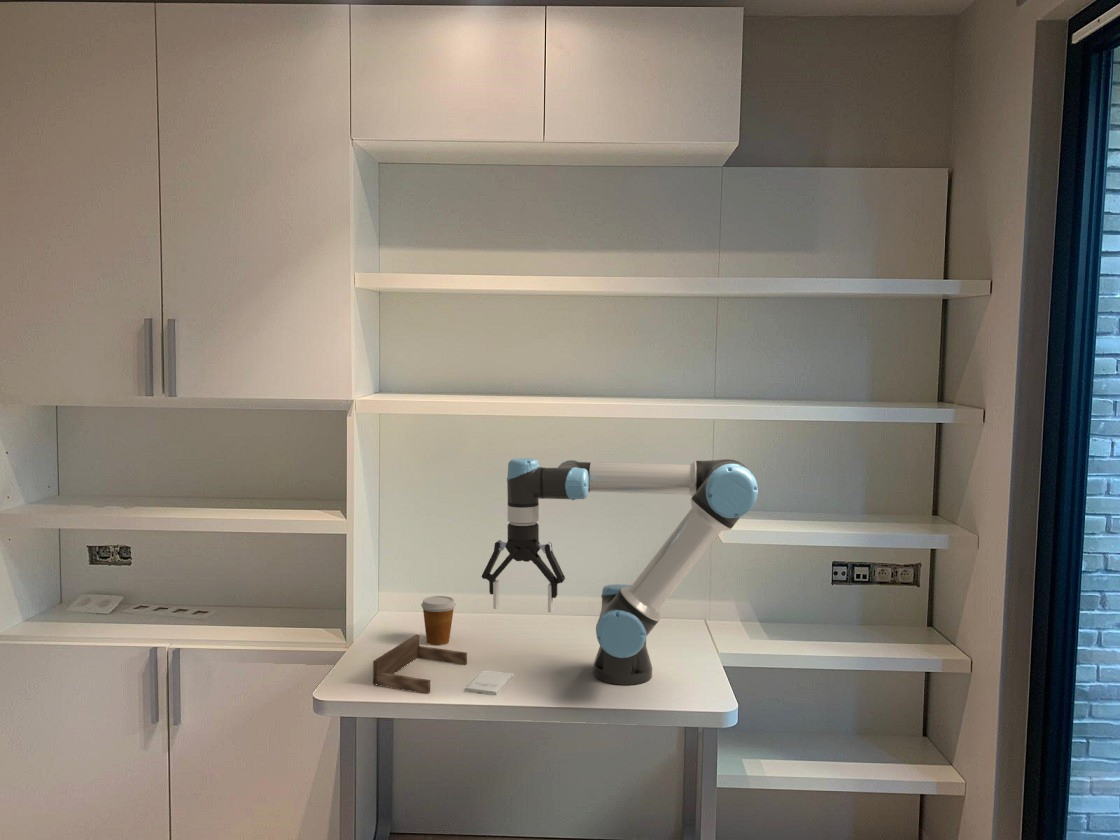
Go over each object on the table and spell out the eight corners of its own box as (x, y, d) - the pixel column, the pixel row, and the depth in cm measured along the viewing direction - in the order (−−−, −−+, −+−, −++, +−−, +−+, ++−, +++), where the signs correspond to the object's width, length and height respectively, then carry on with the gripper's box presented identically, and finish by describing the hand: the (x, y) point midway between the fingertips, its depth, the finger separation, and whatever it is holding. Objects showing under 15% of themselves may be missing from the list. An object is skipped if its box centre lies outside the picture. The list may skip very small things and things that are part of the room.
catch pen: (467, 663, 227) (467, 641, 227) (428, 693, 206) (428, 669, 206) (416, 656, 232) (416, 634, 232) (373, 684, 211) (373, 660, 211)
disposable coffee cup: (422, 648, 238) (423, 605, 238) (419, 637, 248) (419, 596, 247) (457, 646, 241) (457, 603, 240) (452, 635, 250) (452, 594, 249)
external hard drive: (513, 679, 218) (496, 697, 206) (482, 675, 221) (464, 693, 209) (513, 673, 218) (496, 691, 206) (482, 669, 220) (464, 687, 208)
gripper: (576, 521, 210) (576, 607, 211) (478, 517, 215) (478, 601, 217) (570, 527, 203) (570, 616, 204) (468, 523, 208) (469, 610, 209)
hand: (523, 609), depth 210 cm, fingers open, 13 cm apart
